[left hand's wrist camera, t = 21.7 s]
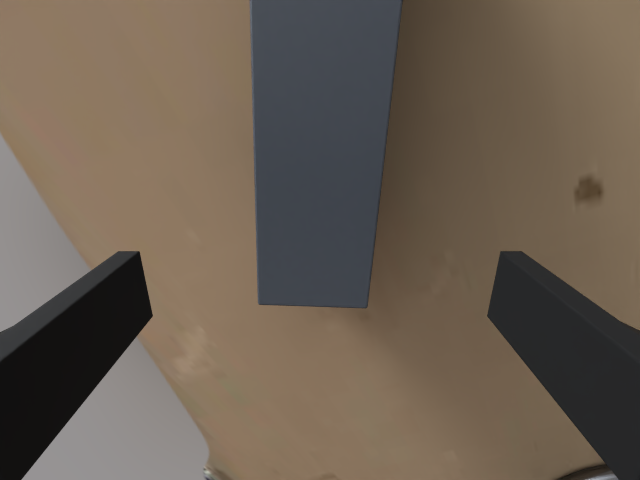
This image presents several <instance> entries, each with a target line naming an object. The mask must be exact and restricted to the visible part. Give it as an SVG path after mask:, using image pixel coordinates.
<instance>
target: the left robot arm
mask: <svg viewBox="0 0 640 480" xmlns="http://www.w3.org/2000/svg"><path fill="white" fill-rule="evenodd" d="M152 316H153V315H152V310H151V305H150V300H149V295H148V291H147V286H146V281H145V276H144V271H143V266H142V261H141V257H140V252H139V251H118V252H117V253H115V254H114V255H113V256H111V257H110V258H108V259H107V260H106V261H104V262H103V263H101V264H100V265H99V266H97V267H96V268H94V269H93V270H91V271H90V272H89V273H87V274H86V275H84V276H83V277H82V278H80V279H79V280H77V281H76V282H75V283H73V284H72V285H70V286H69V287H68V288H66V289H65V290H63V291H62V292H61V293H59V294H58V295H56V296H55V297H54V298H52V299H51V300H49V301H48V302H46V303H45V304H44V305H42V306H41V307H39V308H38V309H37V310H35V311H34V312H33V313H31V314H30V315H28V316H27V317H25V318H24V319H23V320H21V321H20V322H18V323H17V324H16V325H14V326H12V327H10V328H8V329H6V330H4V331H2V332H0V480H21V479H22V478H23V477H24V476H25V474H26V473H27V472H28V471H29V469H30V468H31V467H32V466H33V464H34V463H35V462H36V461H37V459H38V458H39V457H40V456H41V455H42V453H43V452H44V451H45V450H46V448H47V447H48V446H49V444H50V443H51V442H52V441H53V440H54V438H55V437H56V436H57V435H58V433H59V432H60V431H61V430H62V428H63V427H64V426H65V425H66V423H67V422H68V421H69V420H70V418H71V417H72V416H73V415H74V413H75V412H76V411H77V410H78V408H79V407H80V406H81V405H82V404H83V402H84V401H85V400H86V399H87V397H88V396H89V395H90V394H91V392H92V391H93V390H94V389H95V387H96V386H97V385H98V384H99V382H100V381H101V380H102V379H103V377H104V376H105V375H106V374H107V372H108V371H109V370H110V369H111V367H112V366H113V365H114V364H115V362H116V361H117V360H118V359H119V357H120V356H121V355H122V354H123V353H124V351H125V350H126V349H127V347H128V346H129V345H130V344H131V342H132V341H133V340H134V339H135V338H136V336H137V335H138V334H139V333H140V331H141V330H142V329H143V328H144V326H145V325H146V324H147V323H148V321H149V320H150V319H151V318H152ZM487 316H488V318H489V319H490V320H491V321H492V323H493V324H494V325H495V326H496V328H497V329H498V330H499V331H500V333H501V334H502V335H503V336H504V338H505V339H506V340H507V341H508V343H509V344H510V345H511V346H512V348H513V349H514V350H515V351H516V353H517V354H518V355H519V356H520V357H521V359H522V360H523V361H524V362H525V364H526V365H527V366H528V367H529V369H530V370H531V371H532V372H533V374H534V375H535V376H536V377H537V379H538V380H539V381H540V382H541V384H542V385H543V386H544V387H545V389H546V390H547V391H548V392H549V394H550V395H551V396H552V397H553V399H554V400H555V401H556V402H557V404H558V405H559V406H560V407H561V409H562V410H563V411H564V412H565V413H566V415H567V416H568V417H569V418H570V420H571V421H572V422H573V423H574V425H575V426H576V427H577V428H578V430H579V431H580V432H581V433H582V435H583V436H584V437H585V438H586V440H587V441H588V442H589V443H590V445H591V446H592V447H593V448H594V450H595V451H596V452H597V453H598V455H599V456H600V457H601V458H602V460H603V461H604V462H605V463H606V464H607V465H603V466H597V467H592V468H588V469H585V470H581V471H578V472H575V473H573V474H570V475H568V476H566V477H564V478H562V479H560V480H640V331H639V330H637V329H635V328H633V327H631V326H629V325H627V324H625V323H623V322H620V321H619V320H617V319H616V318H615V317H613V316H612V315H610V314H609V313H608V312H606V311H605V310H603V309H602V308H601V307H599V306H598V305H596V304H595V303H594V302H592V301H591V300H589V299H588V298H586V297H585V296H584V295H582V294H581V293H579V292H578V291H577V290H575V289H574V288H572V287H571V286H570V285H568V284H567V283H565V282H564V281H563V280H561V279H560V278H558V277H557V276H556V275H554V274H553V273H551V272H550V271H549V270H547V269H546V268H544V267H543V266H541V265H540V264H539V263H537V262H536V261H534V260H533V259H532V258H530V257H529V256H527V255H526V254H525V253H523V252H522V251H501V252H500V257H499V261H498V266H497V271H496V276H495V281H494V286H493V291H492V295H491V300H490V305H489V310H488V315H487Z"/></svg>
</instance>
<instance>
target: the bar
mask: <svg viewBox="0 0 640 480" xmlns="http://www.w3.org/2000/svg"><path fill="white" fill-rule="evenodd" d="M402 2H403V0H250V28H251V65H252V101H253V138H254V175H255V211H256V248H257V284H258V304H259V305H285V306H315V307H344V308H367V306H368V298H369V289H370V280H371V271H372V263H373V254H374V245H375V237H376V228H377V219H378V211H379V202H380V193H381V185H382V176H383V167H384V159H385V150H386V141H387V132H388V124H389V115H390V106H391V98H392V89H393V80H394V72H395V63H396V54H397V46H398V37H399V28H400V20H401V11H402Z"/></svg>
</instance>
